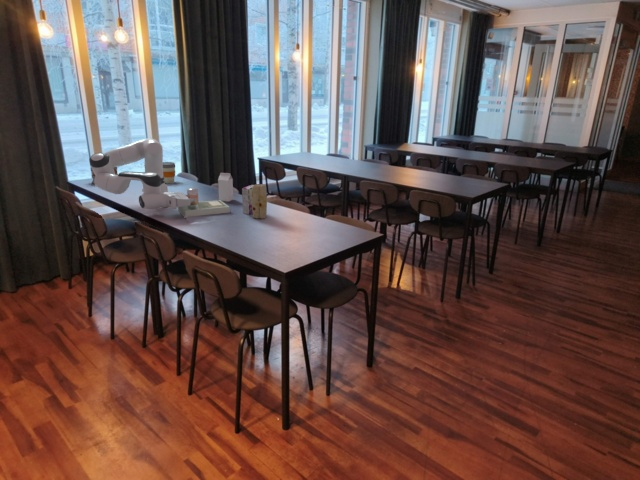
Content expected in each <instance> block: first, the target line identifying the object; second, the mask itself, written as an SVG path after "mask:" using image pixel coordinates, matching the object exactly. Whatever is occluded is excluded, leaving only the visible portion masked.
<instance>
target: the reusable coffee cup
mask: <svg viewBox="0 0 640 480" xmlns="http://www.w3.org/2000/svg"><path fill="white" fill-rule="evenodd" d="M175 176H176V163H175V162H172V161H169V162H168V161H167V162H166V161H165V162H163V177H164V179H165V183H170V184H174V183H175ZM173 182H174V183H173Z"/></svg>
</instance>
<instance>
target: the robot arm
mask: <svg viewBox="0 0 640 480" xmlns="http://www.w3.org/2000/svg"><path fill="white" fill-rule="evenodd" d="M163 151H164V149H163V145H162V144H161V142H159V140H157V139H155V138H151V137H147V138H144V139H141V140H137V141H136V142H133V143H130V144H126V145H123V146H120V147H119V146H118V147H115V148H113V149H110V150H108V151H105V152H98V153H97V152H96V153H93V154H92V155H91V156H90V157H89V160H88V161H89V165H90V166H91V167H92V170H93V172H94V174H95V178H94V183H95V184H94V185H95V187H97V188H98V189H100V190H102V191H105V192H108V193H111V194H115V195H121V194H123V193H126V191H127V190H128V189H129V187H130V184H131V182H132V181H140V182H141V183H142V187H141V192H142V194H141V195H139V196H138V203H139V206H140V207H141V209H144V210H157V209H158V210H159V209H168V208H169V209H177V208H178V207H184V206H189V205H190V202H193V201H196V198H188V197H187V194H184V193H183V192H181V191H179V192H173V191H169V189H168V185H167V184H165V179H164V177H163V161H164V155H163V153H164V152H163ZM143 159H144V172H139V171H121V172H119V173H117V174H118V175H115V171H114V167H117V168H118V167H122V166H126V165H129V164H132V163H135V162H139V161H140V160H143Z"/></svg>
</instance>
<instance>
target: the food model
mask: <svg viewBox="0 0 640 480" xmlns="http://www.w3.org/2000/svg"><path fill="white" fill-rule="evenodd" d="M253 185H254V186H253V187H252V211H253V213H252V216H253V219H257V220H260V219H265V218H266V217H267V211H268V209H267V208H268V207H267V206H268V195H267V186H266V184H263V183H257V184H253Z"/></svg>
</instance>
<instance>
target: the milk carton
mask: <svg viewBox="0 0 640 480" xmlns="http://www.w3.org/2000/svg"><path fill="white" fill-rule="evenodd" d="M217 184H218V200H221V201H222V202H226V203H227V202H228V203H229V202H231V201H234V185H233V184H234V179H233V176H232V175H231V173H229V172H220V173H219V176H218V179H217Z"/></svg>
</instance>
